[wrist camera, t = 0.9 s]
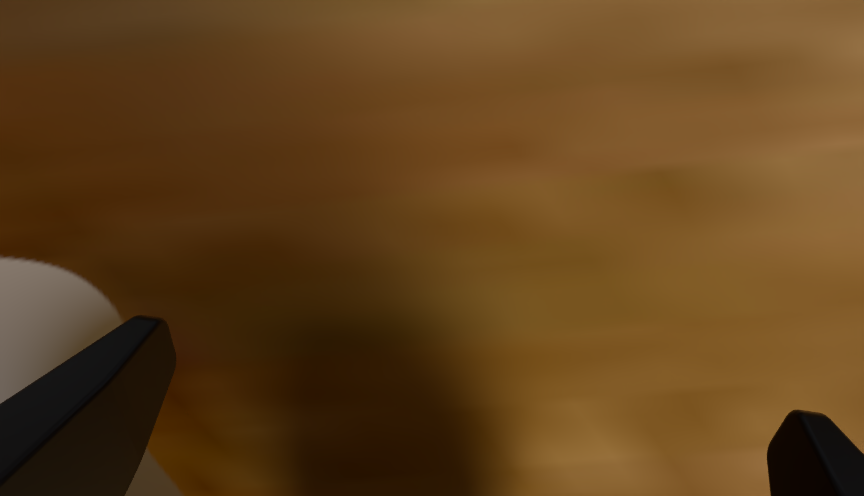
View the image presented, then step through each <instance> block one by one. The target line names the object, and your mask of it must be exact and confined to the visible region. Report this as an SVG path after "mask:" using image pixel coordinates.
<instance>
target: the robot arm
mask: <svg viewBox="0 0 864 496" xmlns="http://www.w3.org/2000/svg"><path fill="white" fill-rule="evenodd" d="M175 366H176V353H175V349H174V346H173V342H172V338H171V334H170V331H169V327H168V324H167V322H166V321H165V320H164V319H162V318H158V317H151V316H144V315H138V316H135V317H133V318H131V319H129V320H128V321H126V322H125V323H123V324H122V325H120V326H119V327H117V328H116V329H114V330H112V331H111V332H109V333H108V334H106V335H105V336H103V337H102V338H100V339H99V340H97V341H96V342H94V343H93V344H91V345H90V346H88V347H86V348H85V349H83V350H82V351H80V352H79V353H77V354H76V355H74V356H73V357H71V358H70V359H68V360H67V361H65V362H64V363H62V364H61V365H59V366H57V367H56V368H55V369H53V370H51V371H50V372H48V373H47V374H45V375H44V376H42V377H41V378H39V379H38V380H36V381H35V382H33V383H31V384H30V385H28V386H27V387H25V388H24V389H22V390H21V391H19V392H18V393H16V394H15V395H13V396H12V397H10V398H9V399H7V400H6V401H4V402H2V403H1V404H0V496H124V495H125V493H126V491H127V489H128V487H129V485H130V483H131V481H132V479H133V477H134V475H135V473H136V471H137V469H138V466H139V464H140V462H141V460H142V457H143V455H144V452H145V450H146V447H147V444H148V442H149V439H150V436H151V433H152V431H153V428H154V425H155V423H156V420H157V417H158V414H159V412H160V409H161V406H162V403H163V401H164V398H165V395H166V393H167V390H168V387H169V384H170V382H171V379H172V376H173V373H174V370H175ZM767 464H768V474H769V483H770V493H771V496H864V454H863V453H862V452H861V451H860V450H859V449H858V448H857V447H856V446H855V445H854V444H853V443H852V442H851V440H850V439H849V438H848V437H847V436H846V435H845V434H844V433H843V432H842V431H841V430H840V429H839V428H838V427H837V426H836V425H835V424H834V423H833V421H832V420H831V419H829V418H828V417H827V416H826V415H824V414H822V413H817V412H810V411H804V410H793V411H791V412H790V413H789V414H788V415H787V416H786V418H785V419H784V421H783V423H782V424H781V426H780V427H779V429H778V431H777V432H776V434H775V435H774V437H773V438H772V440H771V442H770V444H769V447H768V451H767Z"/></svg>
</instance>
